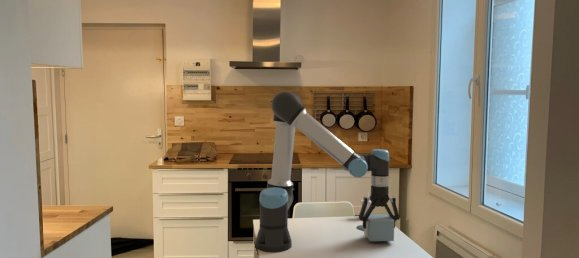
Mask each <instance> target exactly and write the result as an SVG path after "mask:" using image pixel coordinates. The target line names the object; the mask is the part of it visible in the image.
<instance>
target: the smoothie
mask: <svg viewBox="0 0 579 258" xmlns="http://www.w3.org/2000/svg"><path fill="white" fill-rule="evenodd" d="M369 194H370V192H368V191H367V197H370V195H369ZM360 203H361V206H362V205H363V199H360ZM371 203H372V202H371V200H369V202H368V203H367V207H366V210H365V213H366V212H367V210H368V209H369V207H370V205H371ZM365 213H364V215H365ZM363 217H364V216H363Z"/></svg>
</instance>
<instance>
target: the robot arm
mask: <svg viewBox="0 0 579 258" xmlns="http://www.w3.org/2000/svg"><path fill="white" fill-rule="evenodd" d="M270 106H271V111H272V112H273V119H272V120H273V121H272V122H273V123H274V124H275V134H274V144H273V155H272V166H271V175H270V176H271V178H270V179H268V180H267V184H266V188H265V189H262V190H261V192H260V193H259V197H258V198H259V200H258V201H259V228H258V232H257V234H256V238H255V241H254V243H255V244H254V245H255V246H254V247H255V248H256V249H257V250H260V251H263V252H268V253H276V252H277V253H278V252H283V251H286V250H289V249H290V248H292V243H293V242H292V238H291V234H290V231H289V228H288V226H289V225H288V220H289V218H288V215H289V214H288V212H289V209H290V207H291V206H292V204H293V201H294V193H293V190H294V182H292V181H291V175H292V166H293V157H294V156H293V155H294V146H295V145H294V144H295V135H296V129H297V130H298V131H300V132H301V133H302V134H303V135H304V136H306V137H307V138H308V139H310V141H312V142H313V143H314V144H315V145H317V147H319V148H320V149H321V150H323V151H324V152H325V153H326V154H328V155H329V156H330V157H331V158H332V159H334V160H335V161H336V162H337V163H338V164H340V165H341V166H342V167H343V170H344V171H347V172H348V173H349V174H350V175H351V176H352V177H353V178H363V177H364V176H365V175H366V174H367V172H370V173H371V174H370V176H371V177H370V184H371V185H370V195H369V197H368V196H364V197H362V198H363V205H362V204H361V207H360V211H359V214H358V219H359V221H362V225H363V228H364V229H365V234H364V235H365V237H366V238H367V237H368V221H367V219H368V217H369V216H370V214H373V213H372V212H373V211H374V209H376V208H379V207H381V208H384V209H385V210H386V213H387V214H388V215H389V216H390V217H391V218H392V219H393V220H394V229H395V228H396V222H397V221H399V220H400V218H401V217H400V214H399V212H398V211H399V210H398V207H397V200H396V197H395V196H389V190H390V189H389V188H390V186H389V184H390V183H389V182H390V179H389V177H390V152H389V151H388V149H384V148H383V149H382V148H378V149H377V148H375V149H372V150H371V153H356V152H355V151H354V150H353V149H352V148H351V147H349V146H348V145H347V144H345V142H343V141H342V140H341V139H339V138H338V137H337V136H336V135H335V134H334V133H332V132H331V131H330V130H329V129H327V128H326V127H325V126H324V125H322V124H321V123H320V122H319V121H318V120H316V119H315V118H314V117H313V116H312V115H311V114H310V113H308V112H307V107H305V106H303V103H302V99H301V98H300V95H298V94H296V93H295V92H294V91H293V92H292V91H287V90H286V91H285V90H284V91H280V92H278V93H276V94H275V95H274V96H273V97H272V100H271V104H270ZM369 200H371V202H372V203H371V205H370V207H369V209H368V210H367V212H366V213H365V210H366V207H367V203H368V202H369ZM388 202H390V203H391V207H392V210H391V209H390V206H389V205H388ZM392 211H393V212H392ZM364 213H365V215H364ZM363 216H364V217H363Z"/></svg>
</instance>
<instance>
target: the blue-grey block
mask: <svg viewBox="0 0 579 258" xmlns="http://www.w3.org/2000/svg"><path fill="white" fill-rule="evenodd" d="M367 221H368V237H366V238H367V239H368V241H369V242H394V241H395V240H394V239H395V228H394V220H393V219H392V218H391V217H390V216H389V214H388V213H371V214H370V216H369V217H368V219H367ZM363 234H364V235H365V229H364V231H363Z"/></svg>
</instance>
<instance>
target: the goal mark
mask: <svg viewBox="0 0 579 258" xmlns="http://www.w3.org/2000/svg"><path fill="white" fill-rule="evenodd" d="M356 229H357V230H359V231H363V232H364V228H363V224H359V225H357V226H356Z"/></svg>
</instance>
